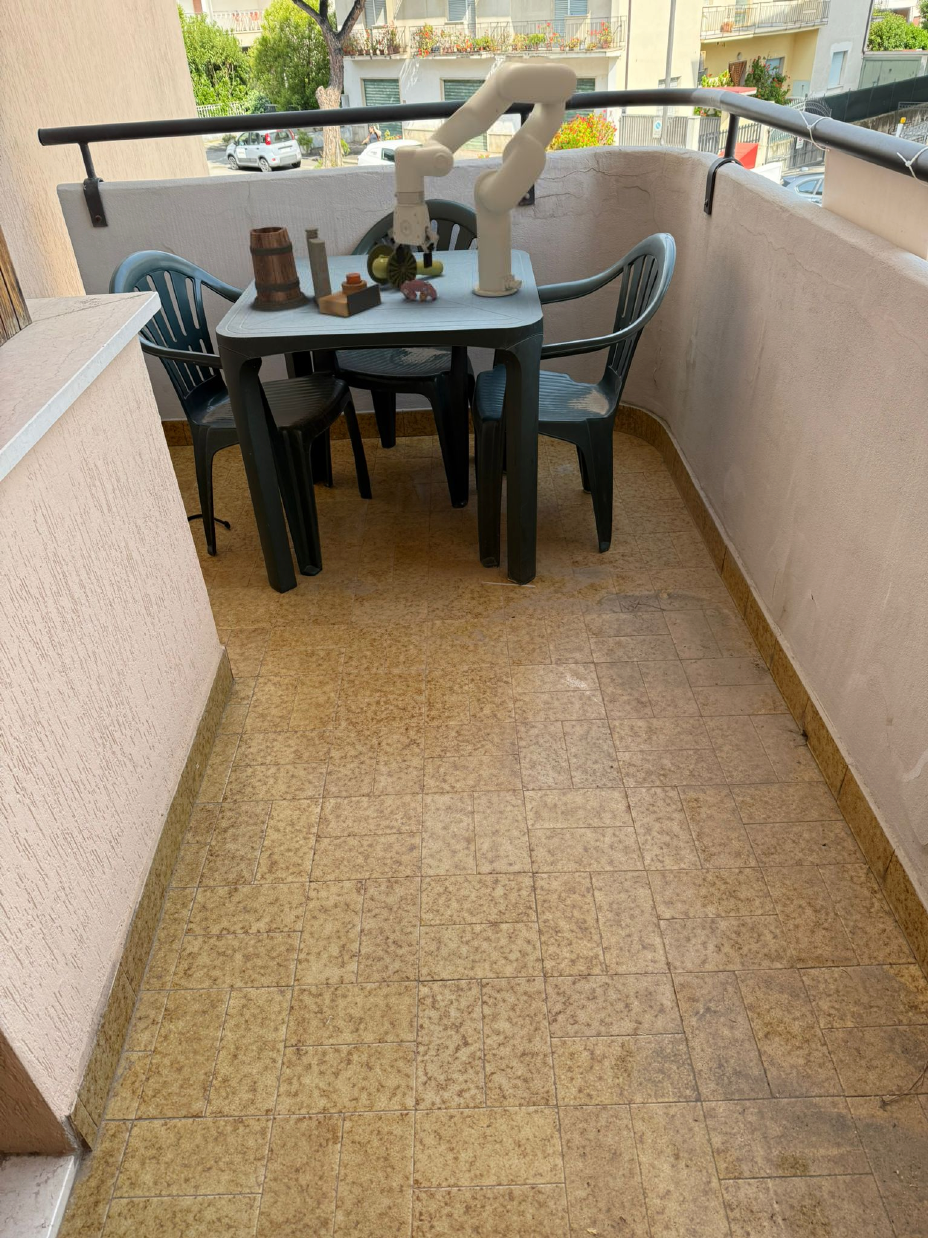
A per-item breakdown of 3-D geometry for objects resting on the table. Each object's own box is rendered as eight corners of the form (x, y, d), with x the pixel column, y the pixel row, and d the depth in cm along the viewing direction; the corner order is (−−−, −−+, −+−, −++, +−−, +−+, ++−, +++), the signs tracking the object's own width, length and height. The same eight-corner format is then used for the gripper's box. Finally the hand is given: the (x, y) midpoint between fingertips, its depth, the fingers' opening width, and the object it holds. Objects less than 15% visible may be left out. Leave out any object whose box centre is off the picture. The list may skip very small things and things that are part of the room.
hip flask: (334, 307, 239) (324, 231, 227) (320, 309, 238) (309, 233, 226) (325, 294, 251) (314, 221, 240) (311, 295, 251) (300, 223, 239)
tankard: (304, 309, 239) (292, 233, 227) (245, 312, 239) (231, 236, 228) (316, 287, 258) (306, 217, 246) (262, 290, 258) (249, 220, 247)
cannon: (429, 271, 268) (426, 233, 261) (452, 277, 260) (450, 238, 254) (364, 287, 255) (360, 247, 249) (387, 294, 248) (383, 253, 241)
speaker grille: (380, 302, 239) (378, 283, 236) (350, 314, 231) (347, 295, 228) (379, 302, 240) (377, 283, 237) (348, 314, 231) (346, 294, 228)
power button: (364, 282, 238) (363, 273, 236) (354, 286, 235) (353, 276, 234) (353, 281, 240) (352, 272, 238) (344, 284, 237) (343, 275, 236)
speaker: (381, 303, 241) (379, 281, 237) (346, 316, 231) (343, 294, 227) (355, 298, 245) (352, 277, 242) (320, 312, 236) (316, 290, 232)
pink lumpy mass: (402, 305, 243) (397, 285, 237) (407, 294, 245) (401, 274, 239) (435, 306, 240) (429, 286, 234) (439, 295, 242) (434, 275, 236)
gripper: (377, 197, 228) (382, 264, 237) (427, 202, 219) (430, 271, 229) (394, 193, 232) (399, 259, 242) (444, 198, 224) (447, 266, 234)
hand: (414, 265), depth 236 cm, fingers open, 9 cm apart
